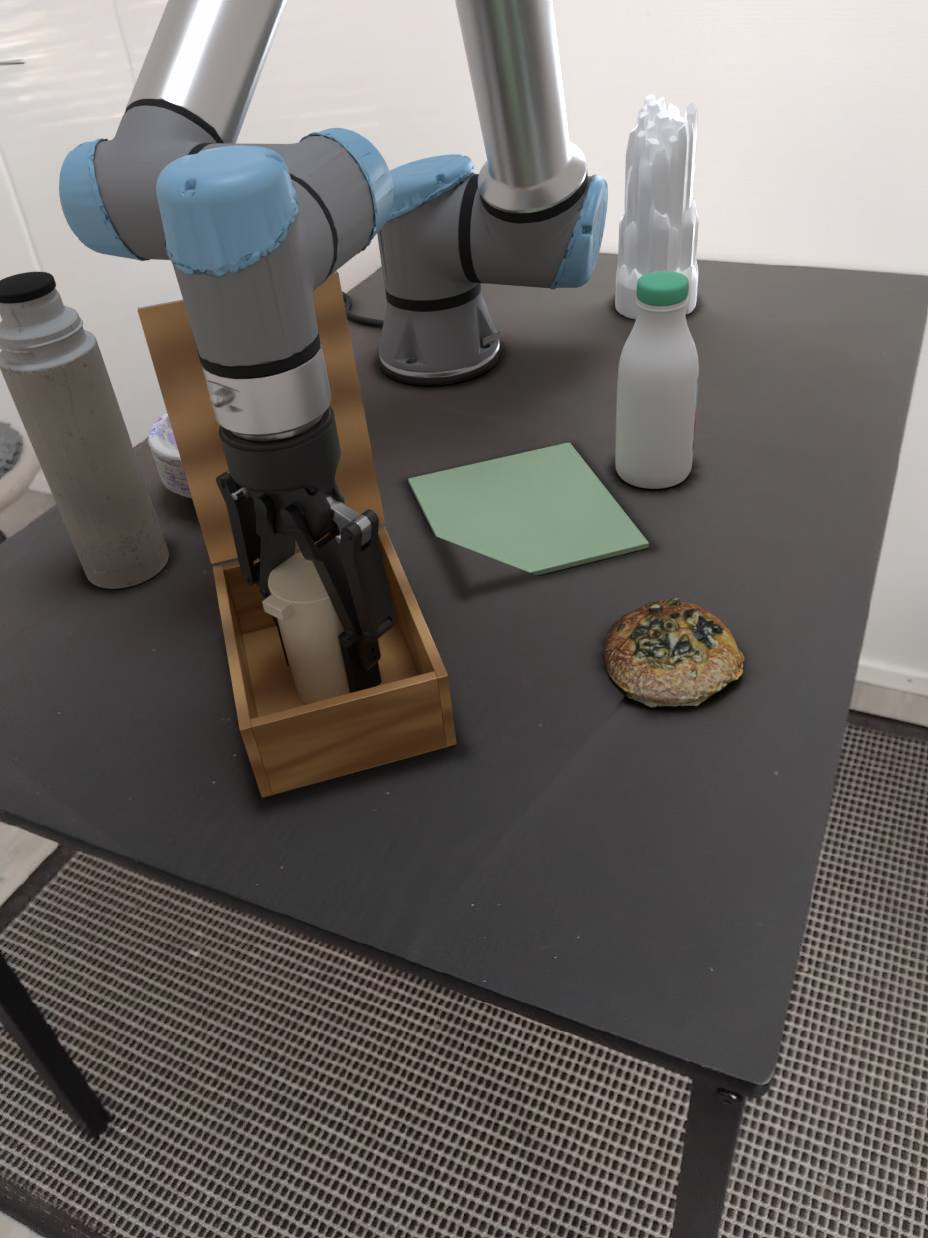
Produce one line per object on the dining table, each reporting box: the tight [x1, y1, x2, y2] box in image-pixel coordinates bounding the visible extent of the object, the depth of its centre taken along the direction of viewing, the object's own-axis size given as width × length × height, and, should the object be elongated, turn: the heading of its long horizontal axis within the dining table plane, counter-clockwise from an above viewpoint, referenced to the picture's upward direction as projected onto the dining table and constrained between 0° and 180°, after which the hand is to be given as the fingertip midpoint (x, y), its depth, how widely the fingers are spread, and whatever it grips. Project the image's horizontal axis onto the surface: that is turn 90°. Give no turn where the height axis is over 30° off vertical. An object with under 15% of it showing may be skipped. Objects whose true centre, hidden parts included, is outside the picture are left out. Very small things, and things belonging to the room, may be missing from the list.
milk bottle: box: [614, 271, 700, 490], centre depth 94 cm, size 8×8×20 cm
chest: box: [212, 526, 457, 799], centre depth 77 cm, size 20×15×8 cm
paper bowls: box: [147, 411, 192, 499], centre depth 102 cm, size 15×15×8 cm
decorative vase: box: [614, 93, 699, 320], centre depth 124 cm, size 11×11×25 cm
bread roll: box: [603, 597, 746, 708], centre depth 77 cm, size 11×11×5 cm
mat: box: [407, 441, 650, 576], centre depth 96 cm, size 20×18×1 cm
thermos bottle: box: [0, 271, 170, 590], centre depth 86 cm, size 8×8×28 cm
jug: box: [262, 552, 350, 705], centre depth 75 cm, size 9×6×11 cm
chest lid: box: [137, 270, 386, 565], centre depth 78 cm, size 20×15×5 cm
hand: (333, 673), depth 78 cm, fingers closed on jug, 6 cm apart
